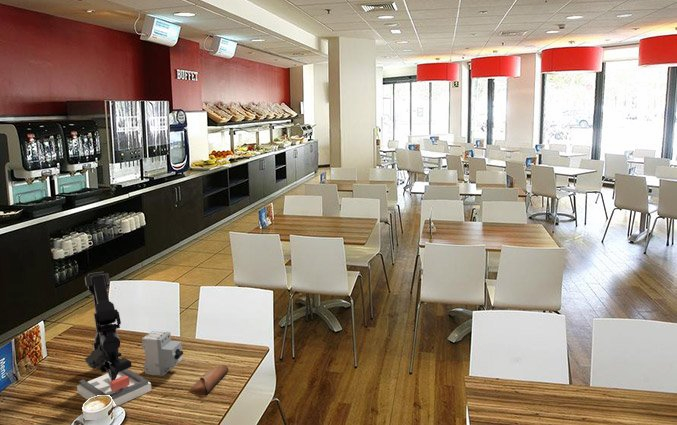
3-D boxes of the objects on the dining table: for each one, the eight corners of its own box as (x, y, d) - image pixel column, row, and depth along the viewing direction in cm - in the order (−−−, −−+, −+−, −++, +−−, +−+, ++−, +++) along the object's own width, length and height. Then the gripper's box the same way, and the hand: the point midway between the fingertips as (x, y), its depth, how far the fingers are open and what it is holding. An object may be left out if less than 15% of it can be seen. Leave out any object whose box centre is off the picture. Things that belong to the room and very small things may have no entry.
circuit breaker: (178, 377, 212) (175, 341, 209) (144, 374, 215) (141, 338, 212) (187, 367, 219) (184, 332, 216) (154, 365, 222) (151, 330, 219)
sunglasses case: (209, 369, 217) (216, 357, 215) (223, 379, 216) (230, 366, 214) (186, 393, 200) (194, 379, 198) (202, 403, 199) (210, 390, 197)
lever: (111, 395, 197) (109, 381, 196) (126, 388, 202) (125, 375, 201) (114, 397, 196) (113, 383, 195) (130, 390, 200) (128, 377, 199)
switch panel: (78, 393, 201) (77, 385, 201) (123, 374, 215) (122, 367, 214) (104, 411, 189) (103, 403, 188) (151, 390, 202) (150, 382, 202)
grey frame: (79, 384, 202) (79, 381, 201) (120, 368, 214) (120, 364, 213) (106, 402, 189) (106, 398, 189) (148, 384, 201) (148, 380, 201)
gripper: (74, 342, 198) (79, 381, 201) (100, 356, 186) (104, 398, 189) (104, 331, 206) (108, 369, 209) (130, 345, 194) (134, 385, 198)
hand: (113, 380), depth 201 cm, fingers closed
